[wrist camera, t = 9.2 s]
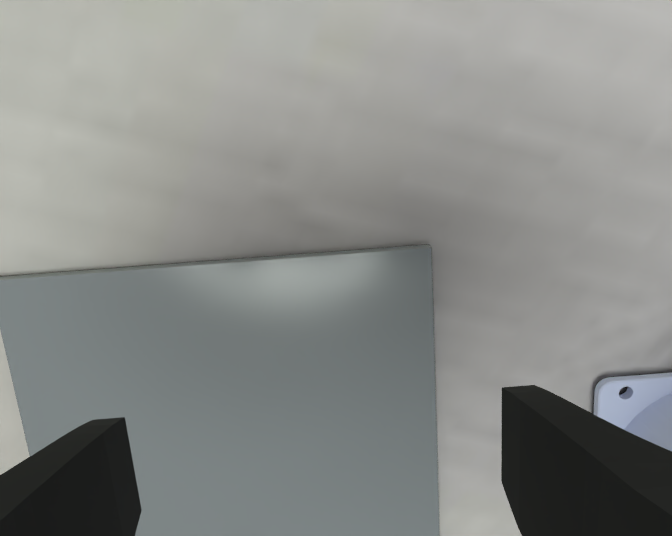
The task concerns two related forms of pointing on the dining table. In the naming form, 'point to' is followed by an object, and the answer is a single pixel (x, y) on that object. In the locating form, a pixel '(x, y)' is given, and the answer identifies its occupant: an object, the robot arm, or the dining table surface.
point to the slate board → (245, 386)
